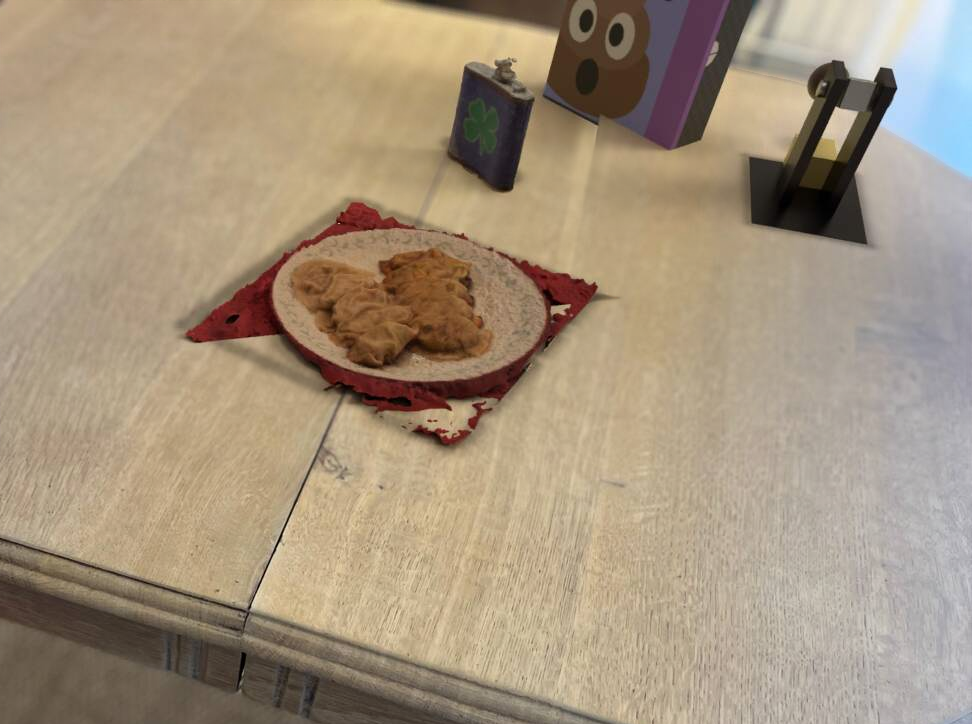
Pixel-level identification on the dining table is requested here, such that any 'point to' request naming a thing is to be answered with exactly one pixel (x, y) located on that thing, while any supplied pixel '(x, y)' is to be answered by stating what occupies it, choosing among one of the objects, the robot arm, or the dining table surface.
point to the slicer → (838, 198)
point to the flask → (491, 123)
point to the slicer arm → (845, 90)
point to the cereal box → (646, 63)
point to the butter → (817, 163)
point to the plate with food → (404, 312)
